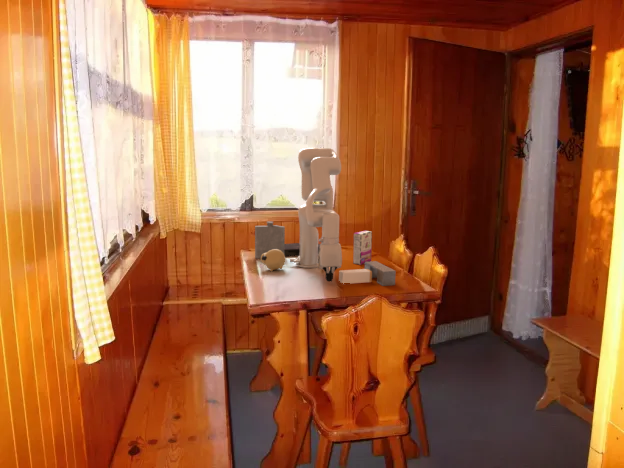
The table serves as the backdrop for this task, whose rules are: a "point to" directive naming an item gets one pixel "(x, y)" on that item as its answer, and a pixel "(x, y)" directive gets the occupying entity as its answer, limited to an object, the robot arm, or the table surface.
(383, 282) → the block
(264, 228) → the hip flask
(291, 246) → the diary
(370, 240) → the candy bar box
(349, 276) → the white rectangular block
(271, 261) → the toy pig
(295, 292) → the table surface
